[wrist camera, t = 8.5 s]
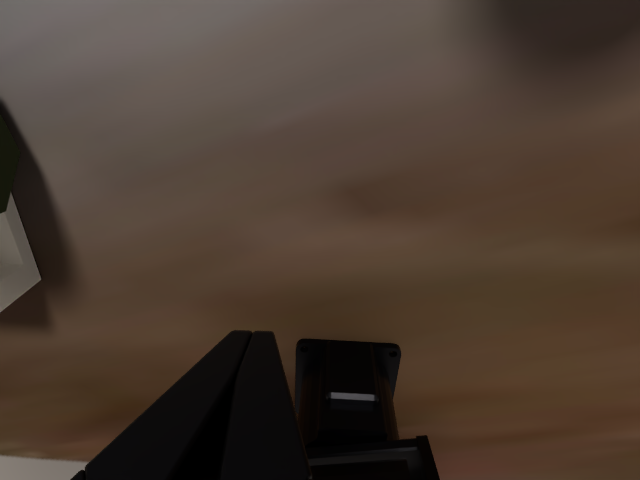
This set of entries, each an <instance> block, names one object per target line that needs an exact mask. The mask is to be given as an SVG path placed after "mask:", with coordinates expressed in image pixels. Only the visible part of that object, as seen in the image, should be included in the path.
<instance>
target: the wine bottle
mask: <svg viewBox="0 0 640 480" xmlns="http://www.w3.org/2000/svg"><path fill="white" fill-rule="evenodd" d="M19 156H20V151H19V149H18V147H17V145H16V143H15V141H14V139H13V137H12V135H11V133H10V132H9V130H8V128H7V126H6V124H5V122H4V120H3V118H2V116H1V114H0V213H3V212H6V210H7V206H8V202H9V198H10V193H11V189H12V185H13V181H14V177H15V173H16V169H17V165H18V161H19Z"/></svg>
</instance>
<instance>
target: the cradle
mask: <svg viewBox="0 0 640 480" xmlns="http://www.w3.org/2000/svg"><path fill="white" fill-rule="evenodd" d="M40 280H42V279H41V277H40V274H39V271H38V268H37V265H36V262H35V259H34V256H33V254H32V251H31V248H30V245H29V242H28V239H27V236H26V234H25V231H24V228H23V225H22V222H21V219H20V216H19V214H18V211H17V208H16V205H15V202H14V199H13V196H12V194H11V193H10V198H9V202H8V206H7V210H6V212H3V213H0V312H1V311H3V310H4V309H5V308H6V307H8V306H9V305H10V304H11V303H13V302H14V301H15V300H16V299H18V298H19V297H20V296H22V295H23V294H24V293H25V292H27V291H28V290H29V289H30V288H32V287H33V286H34V285H35V284H37V283H38V282H39V281H40Z"/></svg>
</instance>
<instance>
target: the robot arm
mask: <svg viewBox="0 0 640 480" xmlns="http://www.w3.org/2000/svg"><path fill="white" fill-rule="evenodd" d="M302 346H306V347H307V348H303V347H302ZM391 351H395V352H393V353H391ZM400 358H401V350H400V347H399V346H398V345H397V344H393V343H375V342H357V341H339V340H321V339H301V340H299V341H298V342H297V347H296V392H295V409H294V406H293V402H292V398H291V395H290V391H289V387H288V383H287V380H286V376H285V372H284V369H283V365H282V361H281V357H280V354H279V350H278V346H277V343H276V339H275V335H274V333H273V332H272V331H255V332H253V333H252V332H251V331H247V330H234V331H231V332H230V333H229V334H228V335H227V336H226V337H225V338H223V339H222V340H221V341H220V342H219V343H218V344H217V345H216V346H215V347H214V348H213V349H212V350H210V351H209V352H208V353H207V354H206V355H205V356H204V357H203V358H202V359H201V360H200V361H199V362H197V363H196V364H195V365H194V366H193V367H192V368H191V369H190V370H189V371H188V372H187V373H186V374H184V375H183V376H182V377H181V378H180V379H179V380H178V381H177V382H176V383H175V384H174V385H173V386H171V387H170V388H169V389H168V390H167V391H166V392H165V393H164V394H163V395H162V396H161V397H160V398H158V399H157V400H156V401H155V402H154V403H153V404H152V405H151V406H150V407H149V408H148V409H147V410H145V411H144V412H143V413H142V414H141V415H140V416H139V417H138V418H137V419H136V420H135V421H134V422H132V423H131V424H130V425H129V426H128V427H127V428H126V429H125V430H124V431H123V432H122V433H121V434H119V435H118V436H117V437H116V438H115V439H114V440H113V441H112V442H111V443H110V444H109V445H108V446H106V447H105V448H104V449H103V450H102V451H101V452H100V453H99V454H98V455H97V456H96V457H95V458H94V459H92V460H91V461H90V462H89V463H88V464H87V465H86V467H85V471H84V470H81V471H79V472H78V473H77V474H76V475H75V476H74V477H73V478H72V479H71V480H440V478H439V475H438V472H437V468H436V465H435V461H434V458H433V455H432V451H431V448H430V444H429V441H428V437H427V435H425V436H416V438H413V439H401V440H399V436H398V430H397V423H396V417H395V411H394V405H393V396H394V391H395V385H396V380H397V374H398V369H399V364H400ZM295 411H296V412H297V413H298V414H299V415H298V421H297V417H296V413H295Z"/></svg>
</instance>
